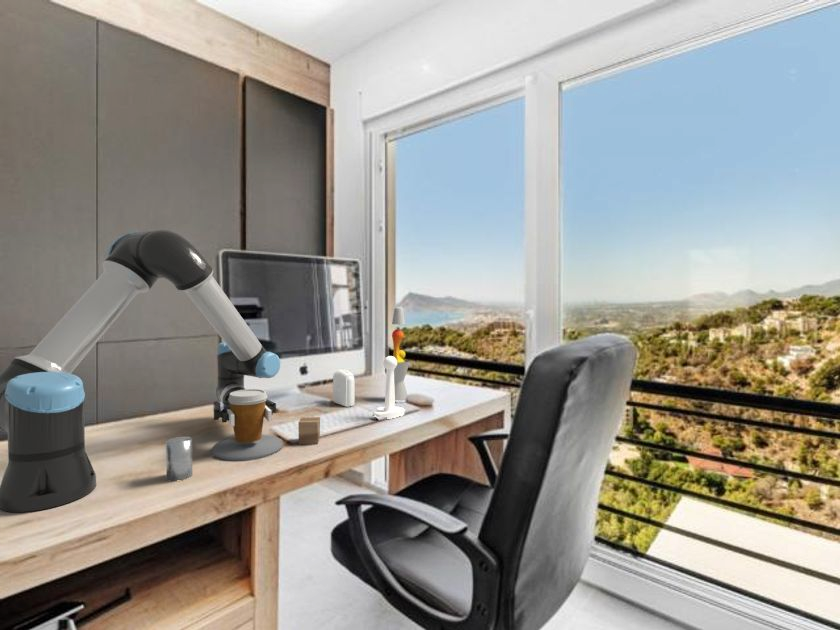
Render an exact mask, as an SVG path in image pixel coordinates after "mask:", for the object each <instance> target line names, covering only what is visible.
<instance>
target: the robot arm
mask: <svg viewBox="0 0 840 630" xmlns="http://www.w3.org/2000/svg"><path fill="white" fill-rule="evenodd" d="M107 255H108V256H107V258H106V259H105V260H104V261H103V262H102V264H101V265H102V270H103V272H102V274H101V275H100V276H99V277H98V278H97V279H96V280H95V281H94V282H93V283H92V284H91V286H90V287H89V288H88V289H87V290H86V291H85V292H84V294H82V296H80V298H79V299H78V300H77V301H76V302H75V303H74V304H73V306H72V307H71V308H70V309H69V310H68V311H67V312H66V313H65V314H64V315H63V317H62V318H61V319H60V320H59V321H58V322H57V323H56V324H55V325H54V327H53V328H52V329H50V330H49V332H48V333H47V334H46V335H45V336H44V338H43V339H41V340H40V342H39V343H38V344H37V345H36V346H35V347H34V348H33V350H32V351H30V353H29V354H26V355H21V356H15V357H14V358H13V359H12V360H11V361H10V362H9V364H7V366H6V367H5V368H4V369H3V370H2V371H1V372H0V432H3V433H5V434H7V453H8V454H7V456H8V457H7V458H8V460H7V461H8V463H7V466H6V468H5V470H4V473H3V476H2V479H1V482H0V510H1V511H4V512H9V513H27V512H34V511H40V510H41V511H42V510H46V509H51V508H55V506H56V507H58V506H63V505H66V504H68V503H72V502H74V501H77V500H79V499H81V498H83V497H85V496H87V495H89V494H91V492H93V491H95V489H96V487H97V475H96V472H95V470H94V467H93V465H92V462H91V460H90V458H89V455H88V454H87V451H86V444H85V443H86V441H85V430H86V429H85V397H86V394H85V390H84V382H83V381H82V379H81V378H80V377H79V376H77V375H75V374H73V372H74V371H75V369H76V368H77V367H78V366H79V365H80V363H81V362H82V361H83V359H84V358H85V357H86V356H87V355H88V353H90V351H91V350H92V349H93V348H94V346H95V345H96V344H97V343H98V342H99V340H100V339H101V338H102V337H103V335H104V334H105V333H106V332H107V331H108V330H109V329H110V327H111V326H112V324H114V322H116V320H117V319H118V318H119V316H121V314H122V313H123V312H124V310H126V308H127V307H128V305H129V304H130V303H131V302H132V301H133V300H134V299H135V297H136V296H137V295H138V294H143V293H145V294H146V293H147V292H149V291H150V290H151V288H153V286H154V285H155V284H156V282H157V281H158V280H159V279H160V278H162V279H163V278H164V279H166V280H168V281H169V282H170V283H171V284H173V285H174V287H175V289H177V291H179V292H184V293H185V294H186V295H187V297H188V298H189V299H190V300H191V302H192V303H193V304H194V305H195V307H197V309H198V310H199V311H200V313H201V314H202V315H203V317H204V318H205V319H206V320H207V321H208V323H209V324H210V325H211V326H212V328H213V329H214V331H215V332H216V333H217V334H218V335H219V337H220V338H221V339H222V340H223V343H222V342H220V343H218V345H217V354H216V359H217V360H216V361H217V362H216V363H217V386H216V388H215V394H216V398H217V399H218V401H213V405H212V406H213V420H214V421H219V419H221V423H227V422H228V424H229V426H230V427H233V426H235V424H234V414H233V412H232V411H231V407H230V403H229V401H228V398H229V396H230V393H231V392H234V391H238V390H245V389H246V388H245V376H248V377H253V378H258V379H272V378H274V377H276V375H277V374H278V373H279V371H280V368H281V359H280V358H279V355H277V354H276V353H274V352H272V351H267V350H266V349H265V347H264V346H263V344H261V342H260V341H259V339H258V338H257V337H256V335H255V334H254V332H253V331H252V329H251V328H250V327H249V325H248V324H247V323H246V321H245V320H244V318H243V317H242V316H241V314H240V312H238V309H237V308H236V307H235V305H234V304H233V303H232V301H231V300H230V299H229V297H228V296H227V294H226V293H225V292H224V290H223V289H222V288H221V286H220V285H219V284H218V282H217V280H216V279H215V278H214V276H213V273H214V269H213V267H212V266H211V264H210V263H209V262H208V261H207V260H206V258H205V256H203V254H202V253H201V252H200V251H199V250H198V249H197V248H196V246H194V244H192V243H191V242H190V241H189V240H188V239H187V238H185V237H184V236H182V235H181V234H179V233H177V232H174V231H171V230H166V229H159V230H158V229H157V230H151V231H133V232H129V233H126V234H123V235H121V236H119V237H117V238H115V240H113V242H112V243H111V244H110V246H109V248H108V252H107ZM276 413H277V403H276V402H274V401H272V400H269V399H267V400H266V402H265V411H264V419H265V420H267V422H273V421H272V420H273V419H272V416H273V415H274V414H276Z"/></svg>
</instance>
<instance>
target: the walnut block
mask: <svg viewBox="0 0 840 630" xmlns="http://www.w3.org/2000/svg"><path fill="white" fill-rule="evenodd" d="M319 439H321V416H301V417H300V419H299V421H298V444H299V443H300V444H299V445H319V442H320V440H319Z"/></svg>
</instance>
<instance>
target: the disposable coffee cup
mask: <svg viewBox="0 0 840 630" xmlns="http://www.w3.org/2000/svg"><path fill="white" fill-rule="evenodd" d="M266 400H268V395H267V392H266V390H264V389H258V388H247V389H246V388H245V390H238V391H234V392H231V393H230V396H229V398H228V401H229V403H230V407H231V411H232V412H233V414H234V424H235V426H232V428H233V434H234V437H235V441H237V442H240V443H249V442H254V441H258V440H260V439H261V436H262V435H263V434H262V433H263V425H264V419H265V417H264V411H265V402H266Z"/></svg>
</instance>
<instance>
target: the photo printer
mask: <svg viewBox="0 0 840 630" xmlns="http://www.w3.org/2000/svg"><path fill="white" fill-rule="evenodd" d="M355 382H356V380H355V375H354V374H353V373H352V372H350V371H349V370H347V369H339V370H338V369H337V370H336V371H335V372H334V373H333V378H332V385H333V386H332V400H333V403H334V404H338V405H340V406H344V407H346V408H348V407H349V408H350V406H351V407H353V406H355V403H356V402H355V401H356V400H355V393H356V392H355V389H356V388H355Z"/></svg>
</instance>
